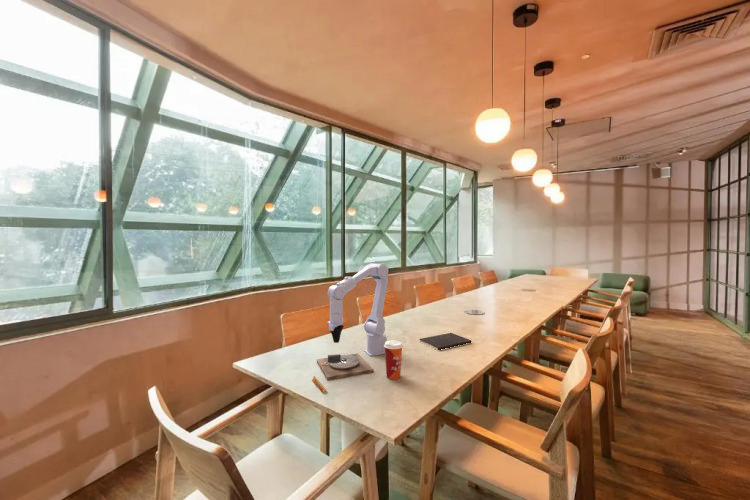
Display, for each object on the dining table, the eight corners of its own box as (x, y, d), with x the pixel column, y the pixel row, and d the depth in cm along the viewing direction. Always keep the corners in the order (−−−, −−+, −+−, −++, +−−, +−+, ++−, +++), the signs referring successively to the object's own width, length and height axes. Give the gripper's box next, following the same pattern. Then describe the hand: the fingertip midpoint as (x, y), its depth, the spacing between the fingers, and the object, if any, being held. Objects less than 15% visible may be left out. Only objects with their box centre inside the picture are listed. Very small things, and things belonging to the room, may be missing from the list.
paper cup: (397, 382, 125) (397, 347, 124) (380, 377, 129) (380, 343, 128) (406, 375, 131) (406, 341, 131) (389, 370, 136) (390, 338, 135)
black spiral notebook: (419, 342, 173) (419, 338, 173) (451, 336, 184) (451, 332, 184) (438, 352, 159) (438, 347, 159) (471, 344, 170) (471, 340, 170)
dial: (327, 359, 145) (327, 350, 145) (356, 356, 147) (356, 348, 147) (328, 370, 132) (328, 361, 132) (360, 368, 135) (360, 359, 135)
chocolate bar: (317, 380, 127) (317, 375, 127) (328, 393, 117) (328, 387, 117) (311, 381, 126) (311, 376, 126) (321, 394, 116) (321, 388, 116)
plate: (357, 355, 153) (357, 352, 153) (373, 372, 134) (373, 368, 134) (316, 361, 145) (316, 358, 145) (327, 380, 127) (327, 376, 127)
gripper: (333, 308, 150) (333, 336, 151) (321, 315, 136) (322, 347, 136) (347, 308, 149) (347, 337, 149) (337, 316, 134) (337, 348, 135)
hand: (336, 342), depth 143 cm, fingers closed
